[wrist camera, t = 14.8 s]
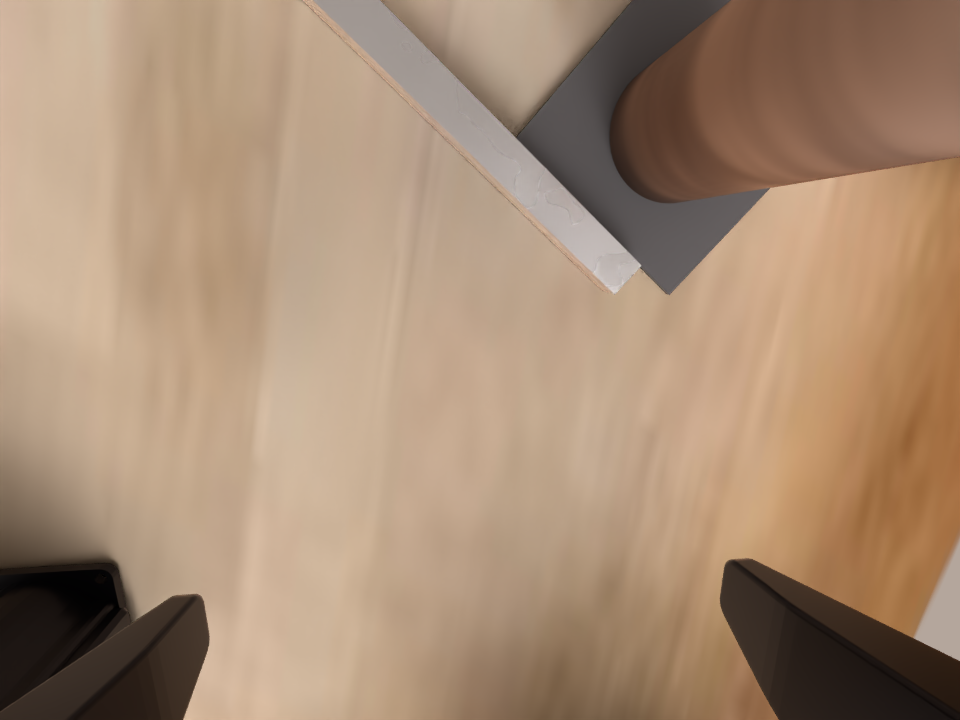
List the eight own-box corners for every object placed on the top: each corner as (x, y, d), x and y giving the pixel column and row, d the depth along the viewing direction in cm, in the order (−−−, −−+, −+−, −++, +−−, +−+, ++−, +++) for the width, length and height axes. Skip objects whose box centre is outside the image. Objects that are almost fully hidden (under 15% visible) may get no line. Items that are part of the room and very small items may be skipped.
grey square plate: (514, 140, 19) (515, 138, 18) (680, -56, 18) (684, -61, 17) (666, 293, 21) (669, 294, 21) (823, 127, 20) (829, 125, 19)
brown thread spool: (607, 204, 19) (946, 131, 7) (612, 58, 18) (1038, -367, 5) (730, 202, 20) (1261, 130, 7) (743, 60, 19) (1408, -326, 6)
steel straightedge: (237, -63, 16) (218, -92, 15) (264, -101, 16) (248, -134, 15) (601, 290, 21) (614, 294, 19) (626, 263, 20) (641, 265, 19)
